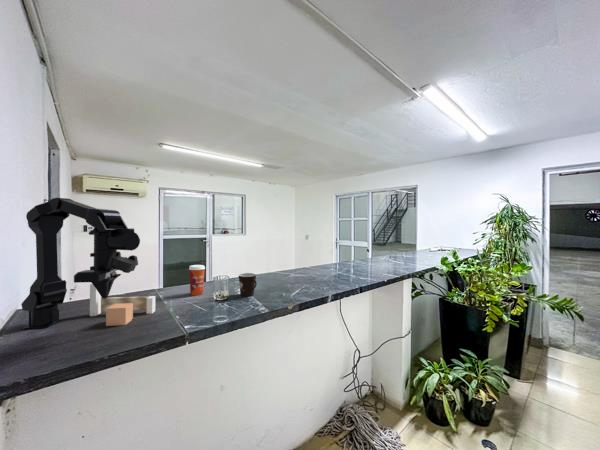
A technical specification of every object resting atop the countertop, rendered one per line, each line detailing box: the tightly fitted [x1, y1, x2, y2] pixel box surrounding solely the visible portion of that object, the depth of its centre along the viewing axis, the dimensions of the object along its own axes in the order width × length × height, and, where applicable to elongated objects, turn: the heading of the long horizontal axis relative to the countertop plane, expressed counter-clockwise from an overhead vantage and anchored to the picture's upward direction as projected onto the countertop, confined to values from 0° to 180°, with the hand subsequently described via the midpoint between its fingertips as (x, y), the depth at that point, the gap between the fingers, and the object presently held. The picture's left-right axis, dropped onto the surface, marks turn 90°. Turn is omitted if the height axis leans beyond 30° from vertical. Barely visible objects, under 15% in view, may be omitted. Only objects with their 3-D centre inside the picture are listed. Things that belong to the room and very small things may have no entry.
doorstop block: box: [105, 303, 134, 327], centre depth 86 cm, size 6×5×6 cm
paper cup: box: [188, 264, 206, 296], centre depth 122 cm, size 8×8×14 cm
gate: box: [101, 296, 149, 313], centre depth 94 cm, size 16×1×5 cm, turn 100°
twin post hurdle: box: [89, 283, 156, 317], centre depth 94 cm, size 22×3×12 cm, turn 100°
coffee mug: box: [238, 272, 257, 298], centre depth 120 cm, size 12×9×10 cm
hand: (105, 298), depth 77 cm, fingers closed
